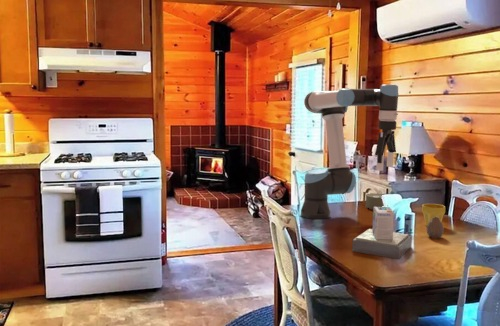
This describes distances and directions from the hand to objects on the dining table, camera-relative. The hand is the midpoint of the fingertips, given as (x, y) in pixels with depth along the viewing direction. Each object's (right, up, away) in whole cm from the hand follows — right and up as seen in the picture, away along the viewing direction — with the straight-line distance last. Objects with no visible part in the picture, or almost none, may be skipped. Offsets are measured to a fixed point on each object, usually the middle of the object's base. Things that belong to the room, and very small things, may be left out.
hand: (384, 168), depth 218 cm
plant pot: (+27, -28, +16) cm, 42 cm away
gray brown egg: (+21, -30, -4) cm, 37 cm away
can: (+10, -22, +55) cm, 60 cm away
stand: (-7, -32, -22) cm, 39 cm away
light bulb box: (-7, -27, -23) cm, 36 cm away
